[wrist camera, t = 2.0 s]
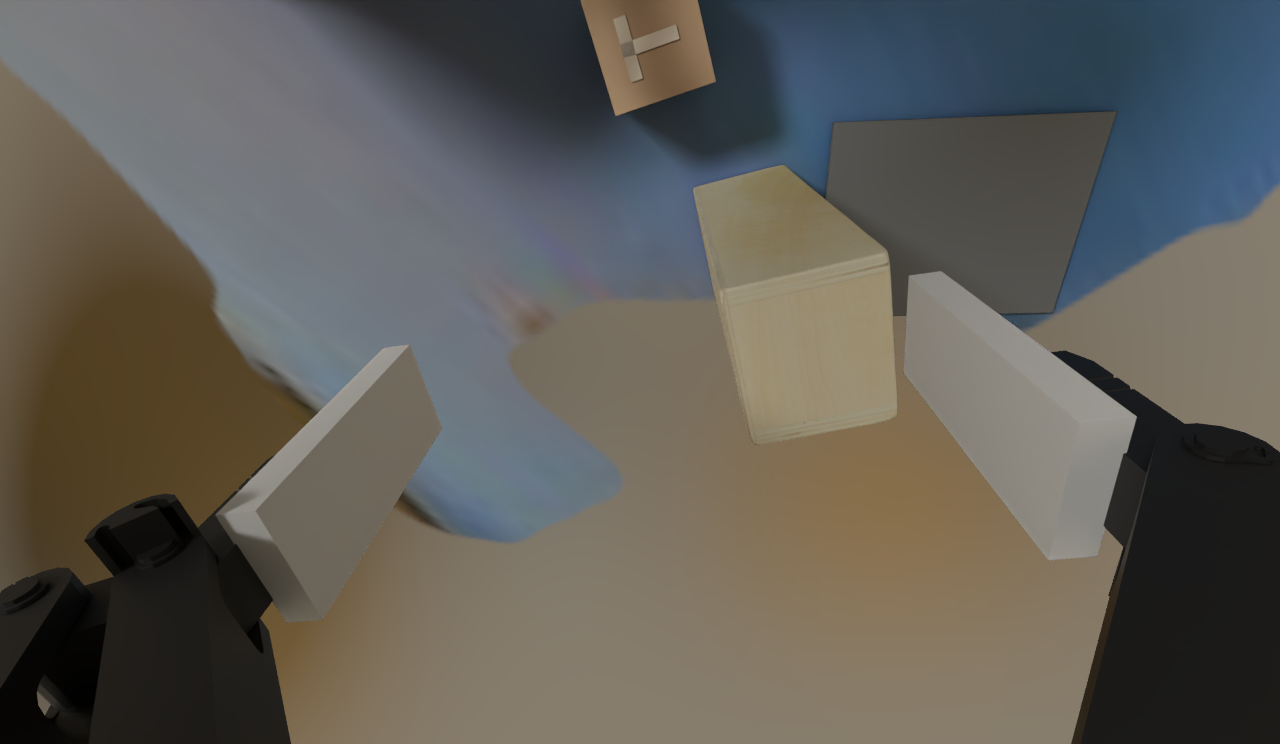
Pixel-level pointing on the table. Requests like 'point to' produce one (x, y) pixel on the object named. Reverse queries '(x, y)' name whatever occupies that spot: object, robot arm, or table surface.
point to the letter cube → (648, 49)
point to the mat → (972, 198)
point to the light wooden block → (799, 306)
